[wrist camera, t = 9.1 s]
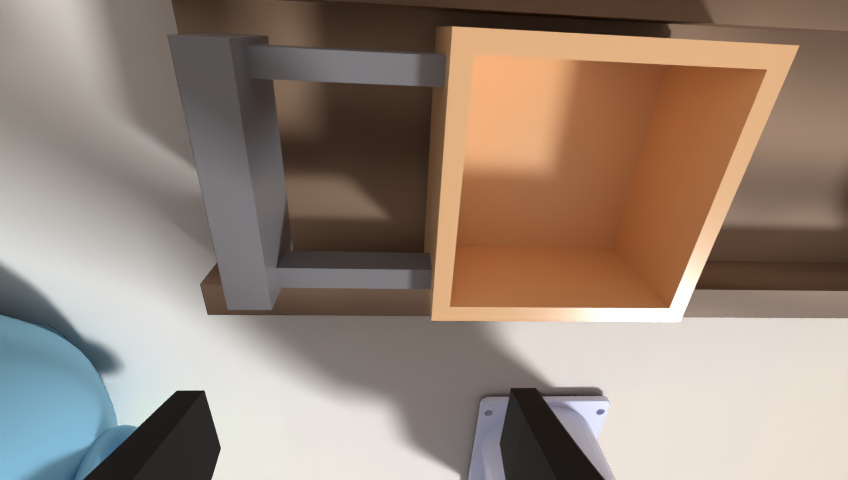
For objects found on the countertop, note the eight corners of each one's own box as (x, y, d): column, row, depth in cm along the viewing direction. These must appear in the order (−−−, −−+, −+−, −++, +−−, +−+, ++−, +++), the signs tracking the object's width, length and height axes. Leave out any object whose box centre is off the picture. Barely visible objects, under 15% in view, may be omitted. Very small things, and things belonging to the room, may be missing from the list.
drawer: (614, 253, 19) (681, 323, 14) (273, 247, 18) (230, 321, 13) (680, 39, 15) (802, 46, 10) (239, 15, 14) (161, 10, 9)
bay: (879, 279, 22) (1059, 375, 16) (236, 271, 20) (163, 379, 14) (1067, 4, 16) (1470, -10, 10) (171, -56, 14) (-9, -120, 8)
